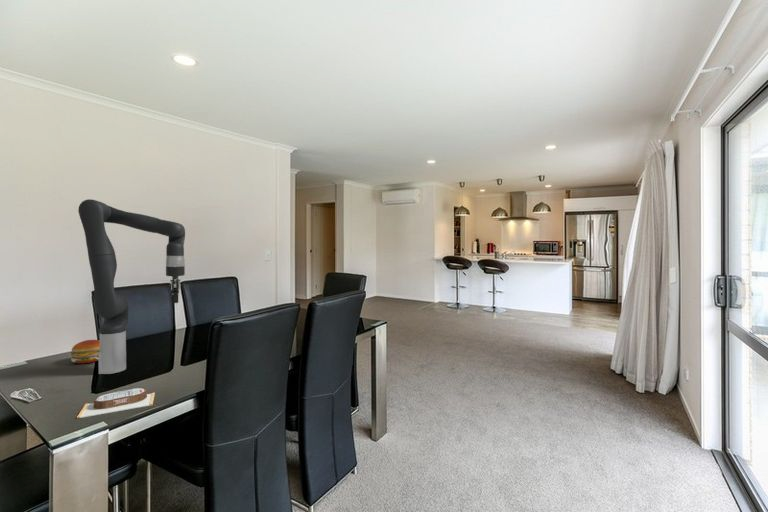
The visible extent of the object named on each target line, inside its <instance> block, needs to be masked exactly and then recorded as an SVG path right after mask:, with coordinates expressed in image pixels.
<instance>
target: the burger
mask: <svg viewBox="0 0 768 512" xmlns="http://www.w3.org/2000/svg"><path fill="white" fill-rule="evenodd" d="M99 351H100V339H99V340H98V339H86V340H83V341H80V342H78V343H76V344H74V346H72V348H71V352H70V354H71V359H70V360H71V362H72V363H74V364H89V363H94V362H99V357H98V353H99Z"/></svg>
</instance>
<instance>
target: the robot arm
mask: <svg viewBox="0 0 768 512" xmlns="http://www.w3.org/2000/svg"><path fill="white" fill-rule="evenodd" d="M77 210H78V211H77V212H78V215H79V219H80V221H81V224H82V228H83V232H84V236H85V242H86V250H87V257H88V263H89V267H90V272H91V278H92V283H93V288H94V289H93V290H94V291H93V294H94V308H95V311H96V314H97V315H98V317H101V318H103V319H104V320H103V322H102V324H101V326H100V327H99V332H98V333H99V340H100V351H99V353H98V357H99V360H98V375H111V374H115V373H121V372H123V371H125V370H127V330H126V329H127V325H128V323H129V303H128V300H127V299H126V297H125V296H123V295H121V294H120V295H119V294H116V291H115V286H114V285H115V283H114V282H115V278H116V272H117V269H118V268H117V267H118V263H117V255H116V251H115V249H114V246H113V244H112V242H111V240H110V238H109V236H108V234H107V231H106V228H105V223H107V224H108V223H109V224H118V225H122V226H126V227H129V228H132V229H136V230H140V231H143V232H148V233H153V234H159V235H162V236H166V237H168V242H167V245H166V247H165V248H166V251H165V252H166V254H165V255H166V256H165V276H166V277H171V278H172V279H170V281H169V282H170V287H171V288H170V290H171V294H172V303H173V304H178V303H179V296H180V295H179V294H180V288H181V279H180V278H179V277H183V276H185V275H186V270H185V269H186V268H185V266H186V261H185V260H186V259H185V240H186V239H185V238H186V229H185V227H184V225H183V224H181V223H179V222H175V221H171V220H165V219H160V218H158V217H155V216H152V215H151V216H150V215H145V214H141V213H135V212H130V211H124V210H122V209H118V208H115V207H113V206H110V205H108V204H106V203H104V202H103V201H99V200H96V199H91V198H90V199H85V200H83V201H82V202H81V203H79V206H78V209H77Z"/></svg>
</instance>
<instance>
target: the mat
mask: <svg viewBox="0 0 768 512" xmlns="http://www.w3.org/2000/svg"><path fill="white" fill-rule="evenodd" d="M155 396H156V392H151V393H147V398H145V399H144V400H142V401H139V402H136V403H132V404H127V405H122V406H117V407H112V408H107V409H95V408H94V407H93V406H94V402H92V403H91V402H90V403H88V402H87V403H84V405H83V408H82V409H81V410H80V412H79V414H78V415H77V416H76V419H78V420H79V419H81V418H87V417H93V416H99V415H103V414H104V415H105V414H110V413H117V412H121V411H127V410H132V409H134V410H135V409H139V408H144V407H150V406H153V404H154V399H155Z"/></svg>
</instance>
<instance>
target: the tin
mask: <svg viewBox="0 0 768 512" xmlns="http://www.w3.org/2000/svg"><path fill="white" fill-rule="evenodd" d="M147 394H148V393H147V389H146V388H144V387H134V388H128V389H123V390H119V391H113V392H108V393H103V394H100V395H99V396H97V397H95V398H94V400H93V403H94V406H93V407H94V408H95V409H107V408H112V407H117V406H122V405H127V404H132V403H136V402H139V401H142V400H144V399H145V398H147Z"/></svg>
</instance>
